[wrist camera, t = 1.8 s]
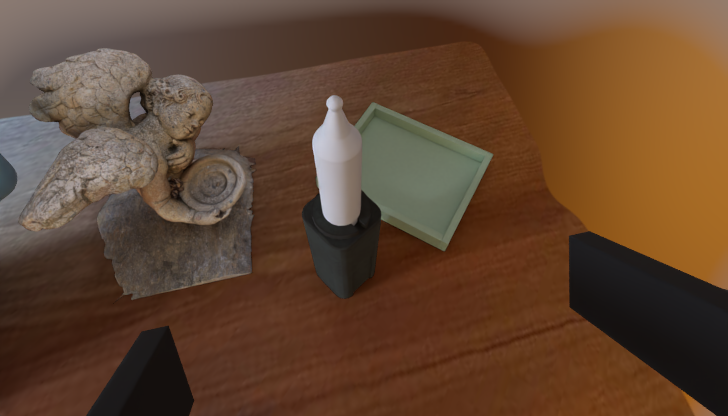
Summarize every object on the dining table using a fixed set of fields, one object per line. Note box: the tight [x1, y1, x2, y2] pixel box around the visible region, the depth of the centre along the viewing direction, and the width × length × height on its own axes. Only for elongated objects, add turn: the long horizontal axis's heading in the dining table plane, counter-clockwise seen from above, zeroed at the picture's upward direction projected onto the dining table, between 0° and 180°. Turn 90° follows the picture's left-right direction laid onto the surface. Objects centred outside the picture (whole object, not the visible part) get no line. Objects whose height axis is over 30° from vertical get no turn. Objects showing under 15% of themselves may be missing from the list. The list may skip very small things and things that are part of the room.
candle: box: [302, 95, 382, 299], centre depth 31 cm, size 5×5×25 cm
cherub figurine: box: [18, 48, 256, 304], centre depth 37 cm, size 18×18×18 cm
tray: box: [315, 102, 493, 251], centre depth 47 cm, size 17×14×2 cm
